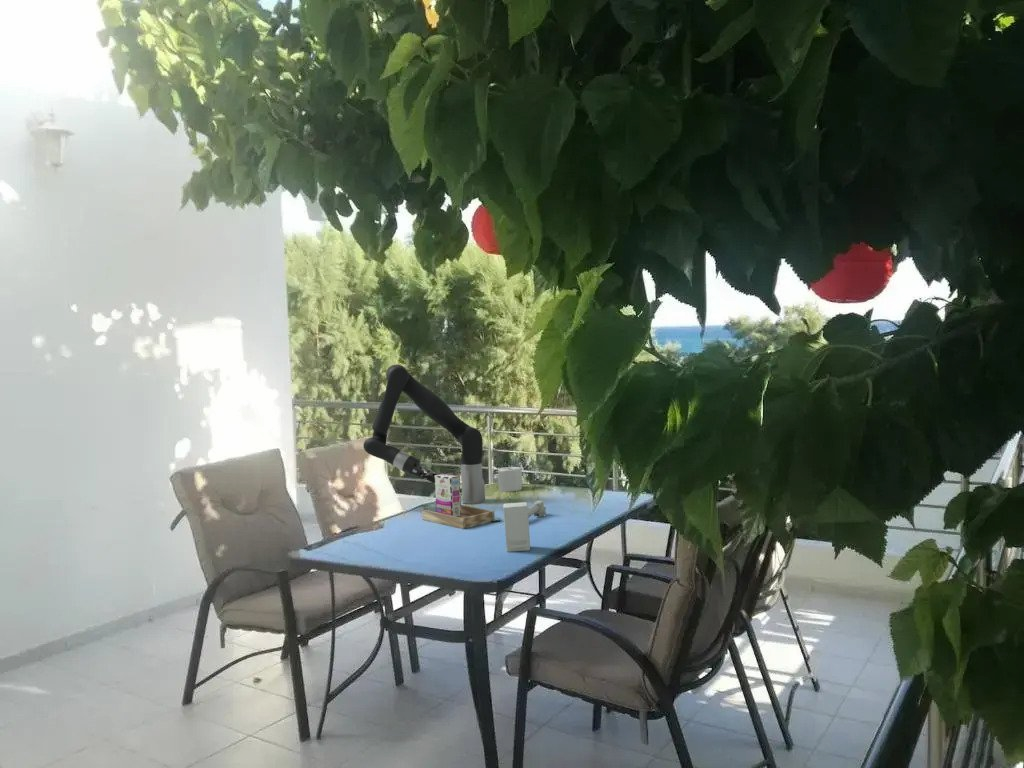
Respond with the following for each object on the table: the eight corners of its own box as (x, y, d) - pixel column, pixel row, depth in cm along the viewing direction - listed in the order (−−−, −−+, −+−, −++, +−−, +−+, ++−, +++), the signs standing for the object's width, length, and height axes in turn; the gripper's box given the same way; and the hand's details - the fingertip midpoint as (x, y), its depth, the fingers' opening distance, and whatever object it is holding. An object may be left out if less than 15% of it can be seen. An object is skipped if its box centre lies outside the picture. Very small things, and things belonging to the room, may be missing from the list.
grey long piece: (504, 518, 313) (536, 496, 334) (506, 534, 314) (537, 512, 335) (516, 519, 310) (547, 497, 331) (518, 535, 311) (549, 513, 332)
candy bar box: (462, 516, 330) (460, 476, 329) (452, 518, 327) (450, 477, 326) (445, 512, 338) (443, 473, 337) (435, 515, 335) (433, 475, 334)
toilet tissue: (523, 487, 394) (522, 466, 393) (520, 492, 382) (519, 470, 381) (501, 487, 395) (500, 467, 394) (497, 492, 383) (496, 471, 383)
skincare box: (529, 546, 284) (527, 501, 283) (530, 551, 278) (528, 505, 277) (505, 547, 284) (503, 502, 283) (505, 552, 278) (503, 506, 277)
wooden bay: (453, 512, 344) (453, 503, 343) (494, 521, 324) (494, 511, 324) (422, 519, 333) (422, 510, 332) (463, 529, 314) (462, 518, 313)
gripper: (404, 455, 342) (437, 473, 338) (416, 454, 355) (448, 471, 352) (396, 471, 342) (429, 489, 338) (408, 470, 356) (440, 487, 352)
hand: (439, 480), depth 345 cm, fingers open, 8 cm apart
